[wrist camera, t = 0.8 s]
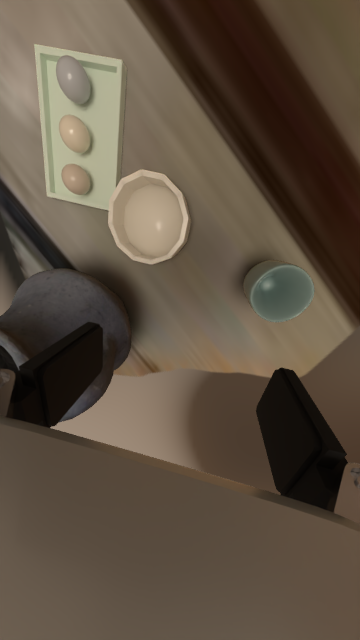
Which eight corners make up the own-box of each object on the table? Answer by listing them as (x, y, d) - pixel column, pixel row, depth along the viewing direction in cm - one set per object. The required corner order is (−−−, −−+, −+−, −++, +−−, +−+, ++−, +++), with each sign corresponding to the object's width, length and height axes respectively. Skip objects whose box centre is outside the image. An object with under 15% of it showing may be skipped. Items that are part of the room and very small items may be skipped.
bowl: (124, 173, 30) (110, 162, 26) (198, 189, 29) (195, 181, 25) (119, 252, 35) (107, 253, 31) (181, 267, 34) (177, 271, 30)
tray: (43, 54, 26) (34, 43, 24) (127, 69, 25) (122, 59, 24) (53, 197, 33) (47, 196, 32) (118, 213, 32) (114, 211, 31)
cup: (230, 280, 34) (237, 294, 25) (267, 247, 31) (290, 250, 22) (258, 309, 35) (274, 333, 26) (295, 280, 32) (328, 296, 23)
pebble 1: (69, 69, 26) (46, 41, 22) (96, 74, 25) (77, 47, 22) (71, 108, 27) (49, 88, 24) (96, 113, 27) (78, 94, 24)
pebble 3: (72, 166, 30) (53, 156, 27) (95, 171, 30) (79, 162, 26) (73, 194, 32) (56, 188, 28) (95, 199, 32) (80, 194, 28)
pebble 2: (71, 121, 28) (50, 104, 24) (95, 127, 28) (78, 110, 24) (72, 154, 30) (53, 143, 26) (95, 160, 29) (79, 148, 26)
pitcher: (53, 256, 38) (-183, 281, 15) (156, 267, 35) (55, 316, 13) (70, 342, 46) (-65, 441, 24) (154, 356, 44) (92, 480, 21)
